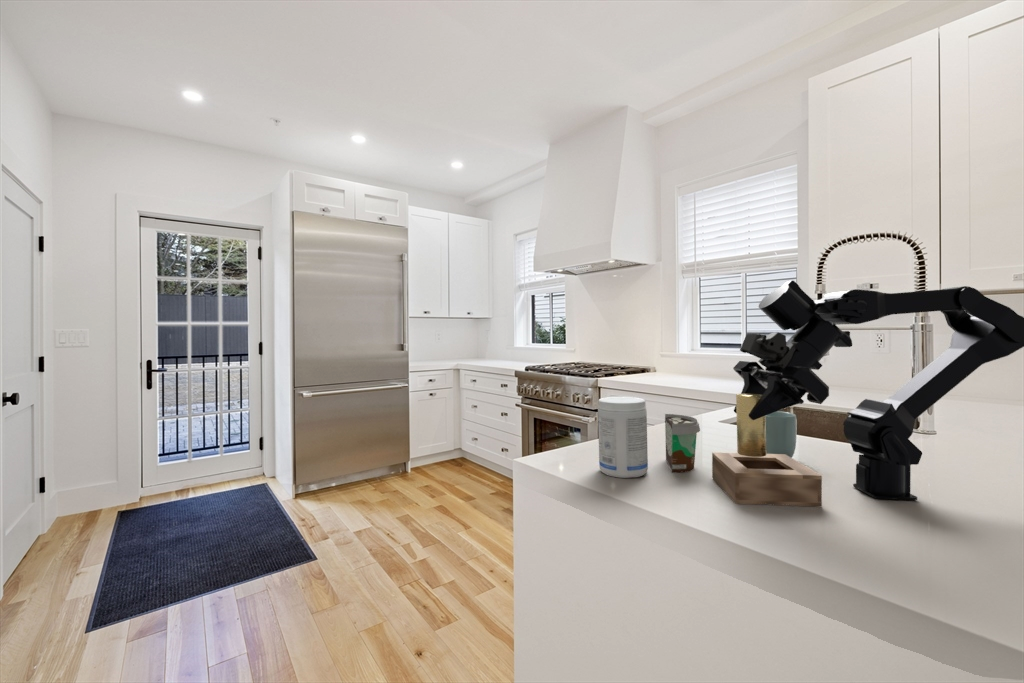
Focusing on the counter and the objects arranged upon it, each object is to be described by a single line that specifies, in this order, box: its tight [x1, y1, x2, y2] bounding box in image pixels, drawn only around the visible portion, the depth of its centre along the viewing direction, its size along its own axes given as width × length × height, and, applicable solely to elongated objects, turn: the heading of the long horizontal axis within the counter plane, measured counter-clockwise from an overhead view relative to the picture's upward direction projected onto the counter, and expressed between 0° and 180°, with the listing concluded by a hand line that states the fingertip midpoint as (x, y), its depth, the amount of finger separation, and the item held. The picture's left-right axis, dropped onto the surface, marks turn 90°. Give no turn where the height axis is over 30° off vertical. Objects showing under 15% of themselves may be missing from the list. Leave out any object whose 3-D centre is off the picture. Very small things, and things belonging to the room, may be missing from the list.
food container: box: [664, 413, 701, 474], centre depth 96 cm, size 12×6×10 cm, turn 168°
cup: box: [766, 410, 798, 459], centre depth 101 cm, size 8×8×10 cm
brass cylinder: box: [735, 393, 766, 457], centre depth 79 cm, size 4×4×10 cm
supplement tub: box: [597, 396, 649, 479], centre depth 93 cm, size 10×10×15 cm
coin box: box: [711, 452, 823, 507], centre depth 81 cm, size 13×13×5 cm
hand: (743, 415), depth 79 cm, fingers closed on brass cylinder, 4 cm apart
